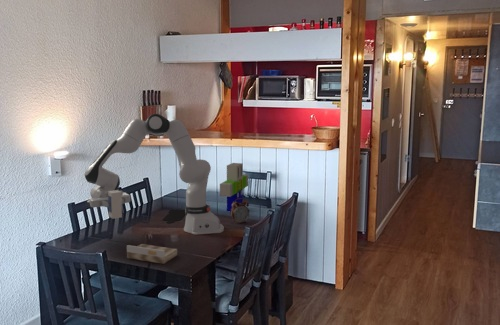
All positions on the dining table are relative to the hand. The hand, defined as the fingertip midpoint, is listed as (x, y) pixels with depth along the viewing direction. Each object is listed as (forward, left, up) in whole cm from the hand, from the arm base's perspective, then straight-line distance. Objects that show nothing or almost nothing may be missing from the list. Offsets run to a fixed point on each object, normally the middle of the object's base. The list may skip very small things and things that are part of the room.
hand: (115, 203), depth 236 cm
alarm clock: (-64, -37, -22) cm, 77 cm away
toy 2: (-62, -66, -22) cm, 93 cm away
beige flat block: (-20, +16, -22) cm, 34 cm away
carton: (0, -1, -7) cm, 7 cm away
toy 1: (-24, -53, -22) cm, 62 cm away
